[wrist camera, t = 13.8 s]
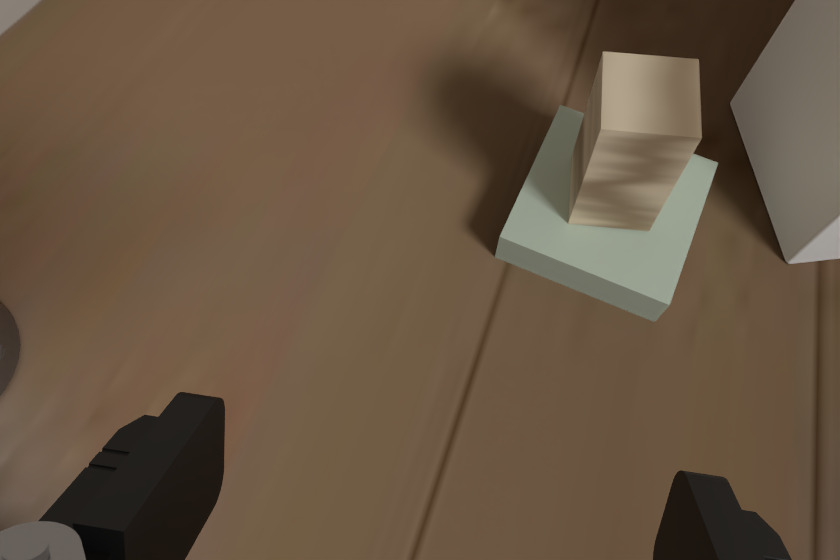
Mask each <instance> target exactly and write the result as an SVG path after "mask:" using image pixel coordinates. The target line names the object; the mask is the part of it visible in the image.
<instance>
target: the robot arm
mask: <svg viewBox="0 0 840 560" xmlns="http://www.w3.org/2000/svg"><path fill="white" fill-rule="evenodd" d="M19 351H20V339H19V330H18V328H17V325H16V323H15V320H14V318H13V316H12V315H11V314H10V312H9V311H8V310H7V308H6V307H5V306H3V305H2V304H1V303H0V395H1V394H2V392H3V391H4V390H5V389H6V387H7V385H8V383H9V381H10V380H11V378H12V376H13V374H14V371H15V368H16V365H17V362H18V359H19ZM224 432H225V406H224V401H223V399H222V398H217V397H211V396H204V395H198V394H191V393H185V392H180V393H178V394H177V395H176V396H175V397H174V398H173V400H172V401H171V402H170V403H169V405H168V406H167V407H166V408H165V410H164V411H163V412H162V413H161V415H160V416H159V417H155V416H149V415H144V416H142V417H140V418H138V419H137V420H135V421H133V422H131V423H129V424H128V425H126V426H124V427H122V428H121V429H119V430H118V431H117V432H116V433H115V434H114V436H113V437H112V438H111V439H110V440H109V441H108V442H107V444H106V445H105V446H104V447H103V449H102V452H99V453H98V454H97V455H96V456H95V457H94V458H93V460H92V461H91V462H90V463H89V466H88V468H85V469H84V470H83V471H82V472H81V473H80V474H79V475H78V477H77V478H76V479H75V480H74V481H73V482H72V483H71V485H70V486H69V487H68V488H67V489H66V490H65V491H64V493H63V494H62V495H61V496H60V497H59V498H58V499H57V501H56V502H55V503H54V504H53V505H52V506H51V507H50V508H49V510H48V511H47V512H46V513H45V514H44V515H43V516H42V518H41V519H40V520H39V521H37V522H29V523H24V524H19V525H16V526H13V527H10V528H7V529H5V530H2V531H1V532H0V560H185V558H186V557H187V555H188V553H189V551H190V549H191V548H192V546H193V544H194V542H195V540H196V539H197V537H198V535H199V533H200V532H201V530H202V528H203V526H204V524H205V523H206V521H207V519H208V517H209V515H210V514H211V512H212V510H213V508H214V506H215V504H216V502H217V499H218V497H219V493H220V490H221V486H222V481H223V474H224ZM653 560H792V559H791V558H790V556H789V554H788V552H787V550H786V548H785V546H784V544H783V542H782V540H781V538H780V536H779V535H778V534H777V533H776V532H775V531H774V530H773V529H772V528H771V527H770V526H769V525H768V524H767V523H766V522H765V521H764V520H763V519H762V518H761V517H760V516H759V515H758V514H757V513H756V512H752V511H745V510H741V507H740V505H739V503H738V501H737V499H736V497H735V495H734V493H733V490H732V488H731V486H730V484H729V482H728V480H727V479H726V478H724V477H720V476H713V475H707V474H700V473H694V472H687V471H678V472H677V474H676V475H675V477H674V480H673V483H672V486H671V489H670V493H669V496H668V499H667V503H666V506H665V510H664V513H663V516H662V520H661V523H660V527H659V530H658V533H657V537H656V541H655V545H654V552H653Z"/></svg>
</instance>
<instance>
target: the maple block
mask: <svg viewBox="0 0 840 560" xmlns="http://www.w3.org/2000/svg"><path fill="white" fill-rule="evenodd" d="M701 139H702V127H701V101H700V75H699V59H691V58H678V57H666V56H654V55H641V54H629V53H617V52H604V51H603V53H602V57H601V60H600V63H599V67H598V70H597V73H596V76H595V80H594V83H593V86H592V90H591V93H590V96H589V100H588V103H587V106H586V110H585V113H584V116H583V120H582V123H581V126H580V130H579V133H578V136H577V140H576V143H575V146H574V150H573V153H572V156H571V175H570V196H569V218H568V224H577V225H588V226H598V227H608V228H618V229H629V230H639V231H649V230H650V229H651V227H652V225H653V223H654V222H655V220H656V218H657V216H658V214H659V213H660V211H661V209H662V207H663V206H664V204H665V202H666V200H667V199H668V197H669V195H670V193H671V192H672V190H673V188H674V186H675V185H676V183H677V181H678V179H679V178H680V176H681V174H682V172H683V170H684V169H685V167H686V165H687V163H688V162H689V160H690V158H691V156H692V155H693V153H694V151H695V149H696V148H697V146H698V144H699V142H700V141H701Z"/></svg>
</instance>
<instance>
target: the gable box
mask: <svg viewBox="0 0 840 560" xmlns="http://www.w3.org/2000/svg"><path fill="white" fill-rule="evenodd" d="M730 106H731V109H732V111H733V114H734V117H735V120H736V123H737V126H738V128H739V131H740V134H741V137H742V140H743V143H744V145H745V148H746V151H747V154H748V157H749V160H750V162H751V165H752V168H753V171H754V174H755V177H756V179H757V182H758V185H759V188H760V191H761V194H762V196H763V199H764V202H765V205H766V208H767V211H768V213H769V216H770V219H771V222H772V225H773V228H774V230H775V233H776V236H777V239H778V242H779V244H780V247H781V250H782V253H783V256H784V259H785V261H786V262H788V263H789V264H793V263H802V262H811V261H821V260H830V259H839V258H840V0H795V1H794V3H793V4H792V6H791V7H790V9H789V10H788V12H787V14H786V15H785V17H784V18H783V20H782V21H781V23H780V25H779V26H778V28H777V29H776V31H775V33H774V34H773V36H772V37H771V39H770V40H769V42H768V44H767V45H766V47H765V48H764V50H763V51H762V53H761V55H760V56H759V58H758V59H757V61H756V63H755V64H754V66H753V67H752V69H751V70H750V72H749V74H748V75H747V77H746V78H745V80H744V81H743V83H742V85H741V86H740V88H739V89H738V91H737V93H736V94H735V96H734V97H733V99H732V100H731V102H730Z"/></svg>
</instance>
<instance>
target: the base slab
mask: <svg viewBox="0 0 840 560" xmlns="http://www.w3.org/2000/svg"><path fill="white" fill-rule="evenodd" d="M583 116H584V113H581V112H578V111H576V110H573V109H570V108H567V107H565V106H562V105H560V107H559V109H558V111H557V113H556V115H555V117H554V120H553V122H552V124H551V126H550V128H549V130H548V133H547V135H546V137H545V139H544V141H543V143H542V146H541V148H540V150H539V152H538V154H537V157H536V159H535V161H534V163H533V165H532V167H531V170H530V172H529V174H528V176H527V178H526V180H525V183H524V185H523V187H522V189H521V191H520V193H519V196H518V198H517V200H516V202H515V204H514V206H513V209H512V211H511V213H510V215H509V217H508V219H507V222H506V224H505V226H504V228H503V230H502V232H501V235H500V237H499V241H498V245H497V250H496V254H495V257H496V258H498V259H501V260H503V261H506V262H508V263H511V264H513V265H516V266H518V267H521V268H523V269H525V270H528V271H530V272H533V273H535V274H538V275H540V276H543V277H545V278H548V279H550V280H552V281H555V282H557V283H560V284H562V285H565V286H567V287H570V288H572V289H575V290H577V291H580V292H582V293H584V294H587V295H589V296H592V297H594V298H597V299H599V300H602V301H604V302H607V303H609V304H612V305H614V306H616V307H619V308H621V309H624V310H626V311H629V312H631V313H634V314H636V315H639V316H641V317H644V318H646V319H648V320H651V321H653V322H655V321H656V320H657V319H658V318H659V317H660V315H661V314H662V313H663V312H664V311H665V310H666V309H667V307H668V306H669V305H670V302H671V299H672V297H673V294H674V291H675V288H676V285H677V282H678V279H679V276H680V273H681V270H682V267H683V264H684V262H685V259H686V256H687V253H688V250H689V247H690V244H691V241H692V238H693V235H694V232H695V229H696V226H697V224H698V221H699V218H700V215H701V212H702V209H703V206H704V203H705V200H706V197H707V194H708V191H709V189H710V186H711V183H712V180H713V177H714V174H715V171H716V168H717V165H718V163H717V162H715V161H712V160H709V159H707V158H704V157H701V156H698V155H696V154H693V155H692V156H691V158H690V160H689V162H688V163H687V165H686V167H685V169H684V170H683V172H682V174H681V176H680V178H679V179H678V181H677V183H676V185H675V186H674V188H673V190H672V192H671V193H670V195H669V197H668V199H667V200H666V202H665V204H664V206H663V207H662V209H661V211H660V213H659V214H658V216H657V218H656V220H655V222H654V223H653V225H652V227H651V229H650V230H649V231H639V230H629V229H618V228H608V227H598V226H588V225H577V224H568V218H569V196H570V175H571V156H572V153H573V150H574V146H575V143H576V140H577V136H578V133H579V130H580V126H581V123H582V120H583Z"/></svg>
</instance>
